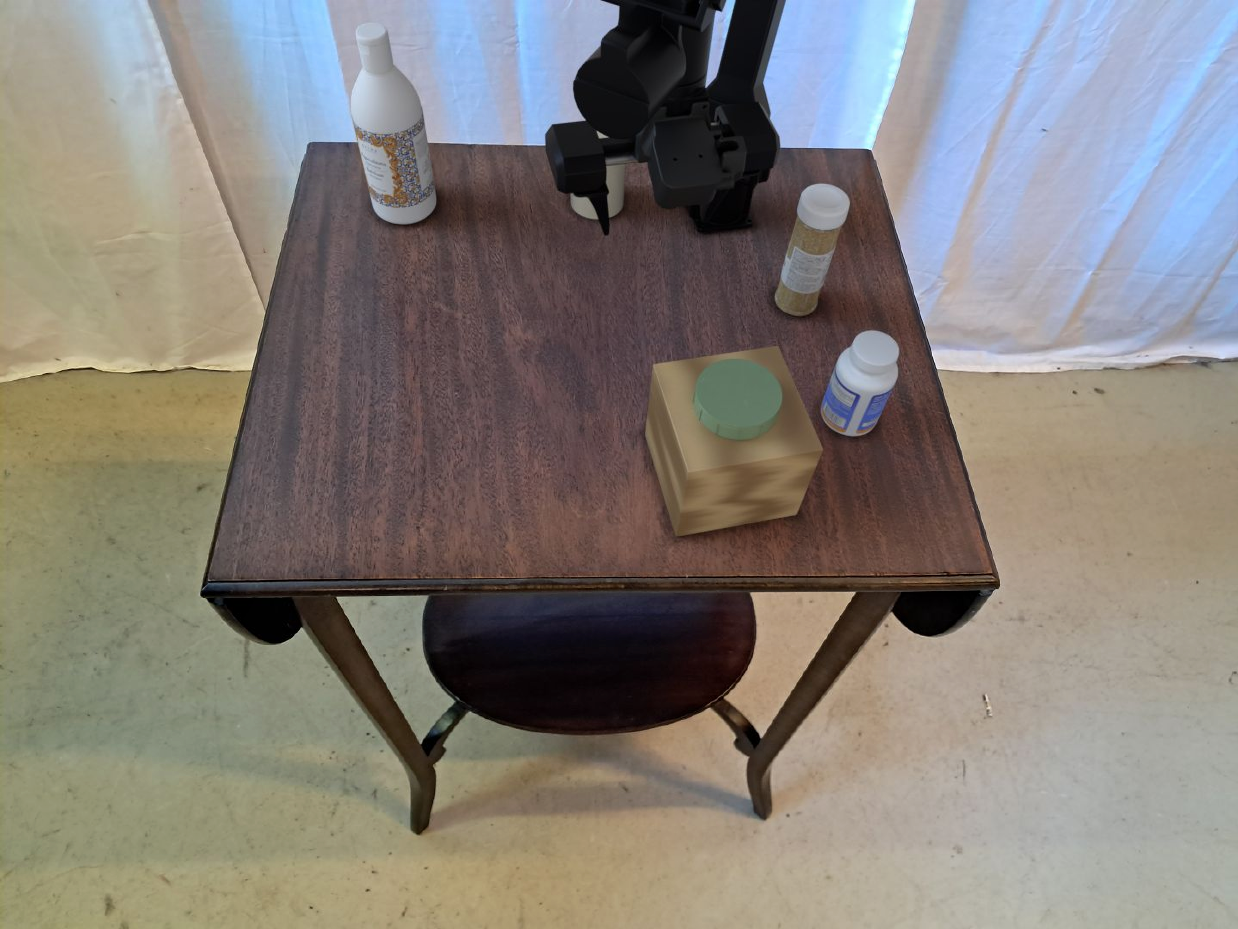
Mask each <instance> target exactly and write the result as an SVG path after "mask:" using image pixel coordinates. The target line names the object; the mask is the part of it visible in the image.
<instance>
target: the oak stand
mask: <svg viewBox="0 0 1238 929" xmlns="http://www.w3.org/2000/svg"><path fill="white" fill-rule="evenodd" d="M725 359H744V360H749V361H752V362H755V363H757V364H759V365H761V366H763V367H765V368H766V369H767V370H769V371H770V372H771V373H772V374H773V375H774V376H775V377H776V379H777V380H778V382H779V384H780V386H781V389H782V404H781V407H780V410H779V413H778V417H777V420H776V423H775V425H773V426H772V427H771V428H770V429H769V430H768V431H767V432H766V433H764V434H762V435H760V437H759V436H758V437H756V438H752V439H747V440H734V439H728V438H724V437H721V436H719V435H717V434H715V433H713V432H711V431H710V430H709V429H707V428H706V427H705V426H704V425H703V424H702V423H701V422H700V420H698V417H697V415H696V413H695V410H694V405H693V403H692V401H693V395H694V392H695V388H696V383H697V380H698V377H699V376H700V374H701V373H702V372H703V370H704V369H706V368H707V367H708V366H709V365H711V364H713V363H715V362H718V361H721V360H725ZM650 379H651V381H650V389H649V398H648V406H647V414H646V424H645V432H644V438H645V440H646V444H647V446H648V450H649V454H650V457H651V459H652V463H653V468H654V470H655V473H656V476H657V479H658V483H659V486H660V489H661V493H662V497H663V500H664V503H665V506H666V509H667V513H668V516H669V519H670V523H671V526H672V529H673V532H674V536H675V537H683V536H688V535H693V534H699V533H704V532H709V531H715V530H721V529H726V528H731V527H737V526H743V525H748V524H754V523H760V522H765V521H770V520H775V519H782V518H787V517H792V516H796V515H798V512H799V510H800V507H801V505H802V502H803V501H804V497H805V496H806V492H807V490H808V488H809V486H810V483H811V480H812V478H813V476H814V474H815V471H816V468H817V467H818V464H819V461H820V460H821V457H822V454H823V451H824V448H823V446H822V443H821V441H820V439H819V436H818V434H817V431H816V429H815V426H814V424H813V423H812V420H811V417H810V415H809V413H808V411H807V408H806V406H805V403H804V401H803V400H802V397H801V395H800V392H799V391H798V388H797V386H796V383H795V380H794V378H793V376H792V374H791V372H790V369H789V366H788V365H787V363H786V360H785V357H784V356H783V353H782V351H781V348H780V346H779V345H774V346H767V347H766V346H765V347H759V348H753V349H745V350H740V351H732V352H727V353H719V354H713V355H707V356H699V357H693V358H686V359H685V358H684V359H680V360H673V361H664V362H658V363H653V364H652V372H651V378H650Z"/></svg>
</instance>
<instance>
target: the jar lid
mask: <svg viewBox="0 0 1238 929" xmlns="http://www.w3.org/2000/svg"><path fill="white" fill-rule="evenodd" d="M692 403H693V405H694V410H695V413H696V415H697V417H698V420H700V422H701V423H702V424H703V425H704V426H705V427H706V428H707V429H709V430H710V431H711V432H713V433H715V434H717V435H719V436H721V437H724V438H728V439H734V440H747V439H752V438H756V437H758V436H759V437H760V435H762V434H764V433H766V432H767V431H768V430H769V429H770V428H771V427H772V426H773V425H775V423H776V420H777V417H778V413H779V410H780V407H781V404H782V389H781V386H780V384H779V382H778V380H777V379H776V377H775V376H774V375H773V374H772V373H771V372H770V371H769V370H767V369H766V368H765V367H763V366H761V365H759V364H757V363H755V362H752V361H749V360H744V359H725V360H721V361H718V362H715V363H713V364H711V365H709V366H708V367H707V368H706V369H704V370H703V372H702V373H701V374H700V376H699V377H698V380H697V383H696V388H695V392H694V395H693V401H692Z"/></svg>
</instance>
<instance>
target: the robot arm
mask: <svg viewBox="0 0 1238 929" xmlns="http://www.w3.org/2000/svg"><path fill="white" fill-rule="evenodd" d="M600 1H601V2H603V3H607V4H609V5H610V4H611V5H614V6H616V7H618V20H617V25H616V26H615V27H613V28H611V29H609V30H608V31H607V32H606V34H604V35H603V37H602V38H601V40H600V45H599V46H598V47H597V48H596V50H594V52H593V53H591V55H590V56H589V57H588V58H587V59H586V60H585V61H584V62H583V63H582V64H581V66H580V67H579V68H578V70H577V71H576V75H575V77H574V79H573V81H572V82H573V83H572V93H573V100H574V102H575V105H576V108H577V109H578V111H579V114H581V117H582V118H583V119H584V120H578V121H569V122H559V123H551V125H550V127H549V128H548V129H547V131H546V132H545V134H544V145H545V146H544V147H545V154H546V157H547V160H548V164H549V167H550V171H551V174H552V177H553V180H554V184H555V187H556V191H558V192H560V193H562V194H564V195H569V194H570V193H572V194H573V195H574V196H576V197H578V198H581V197H587V198H588V199H589V200H590V202H591V204H592V205H593V207H594V209H595V212H596V214H597V217H598V219H597V220H598V222H599V225H600V227H601V231H602V233H603V236H604V237H606V236H609V235H610V226H611V224H610V221H611V220H610V218H609V210H608V199H607V195H608V194H609V189H608V187H607V184H606V179H607V168H606V166H612V165H621V164H626V165H627V164H637V163H638V164H644V163H647V165H646V166H647V169H648V174H649V177H650V182H651V187H652V190H653V198H654V201H655V203H656V205H657V206H658V207H659V208H661V209H663V210H675V209H677V208H682V207H685V210H686V212H687V215H688V217H689V218H690V219H691V220H692V222H693V225H694V227H695V230H696V232H698V233H700V234H705V233H712V232H721V231H729V230H737V229H744V228H745V229H746V228H752V227H753V226H754V222H755V220H754V218H753V216H752V214H751V212H750V210H751V205H752V200H753V195H754V190H755V189H756V187H757V185H758V184H762V183H767V182H768V181H769V179H770V175H771V169H774V168H775V166H776V165H777V164H778V160H779V155H780V152H781V138H780V135H779V133H778V131H777V129H776V127H775V125H774V124H773V121H772V119H771V115H772V112H771V106H770V104H769V100H768V96H767V91H766V89H765V84H764V81H765V77H766V74H767V70H768V67H769V63H770V59H771V56H772V52H773V50H774V45H775V41H776V39H777V35H778V32H779V28H780V27H779V26H780V24H781V20H782V16H783V12H784V9H785V6H786V2H787V0H734V4H733V7H732V12H731V15H730V20H729V24H728V28H727V32H726V36H725V40H724V45H723V49H722V51H721V52H722V53H721V57H720V61H719V64H718V68H717V73H716V76H715V78H713V80H712V81H711V82H710V83H709V84H708V85H707V78H708V70H709V64H710V63H709V62H710V57H711V56H710V55H711V48H712V42H713V41H712V40H713V33H714V25H715V17H716V13H717V11H718V12H720V13H723V11H724V9H725V6H726V3H727V0H600ZM706 85H707V86H706ZM597 131H598V132H600V133H601V134H603V135H605V136H607V138H599V136H598V134H597Z"/></svg>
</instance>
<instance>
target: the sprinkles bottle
mask: <svg viewBox="0 0 1238 929" xmlns="http://www.w3.org/2000/svg"><path fill="white" fill-rule="evenodd" d="M850 205H851V202H850V198H849V196H848V194H847V193H846V192H845V191H844V190H843V189H842V188H839V187H837V186H835V185H833V184H828V183H815V184H810V185H808V186H807V187H806V188H804V190H802V191H801V195H800V197H799V201H798V204H797V209H796V213H797V215H796V220H795V224H794V227H793V230H792V233H791V237H790V240H789V243H788V247H787V250H786V253H785V258H784V261H783V265H782V269H781V272H780V279H779V283H778V286H777V289H776V291H775V294H774V302H775V304H776V306H777V307H778V308H779V309H780V310H781V311H782V312H784V313H785V314H789V315H790V316H795V317H803V316H807V315H809V314H812V313H813V312H814V311H816V309H817V306H818V303H819V296H820V293H821V290H822V287H823V286H824V283H825V280H826V278H827V275H828V272H829V268H830V265H831V262H832V259H833V256H834V252H835V250H836V247H837V241H838V238H839V235H840V232H841V229H842V226H843V225H844V224H845V221H846V220H847V216H848V214H849V210H850Z"/></svg>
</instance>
